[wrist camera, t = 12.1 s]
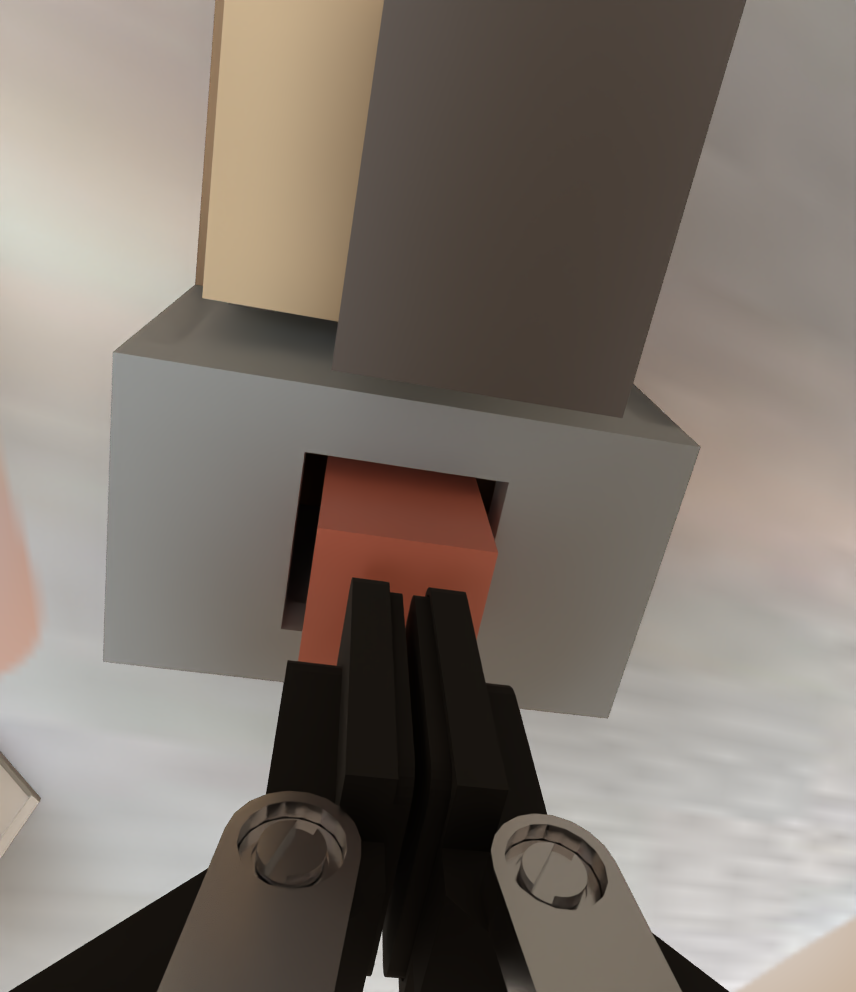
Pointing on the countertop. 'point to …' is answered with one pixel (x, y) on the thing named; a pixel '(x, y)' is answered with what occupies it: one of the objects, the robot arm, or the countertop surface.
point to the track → (313, 462)
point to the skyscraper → (13, 803)
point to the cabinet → (381, 439)
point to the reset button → (393, 543)
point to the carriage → (464, 181)
